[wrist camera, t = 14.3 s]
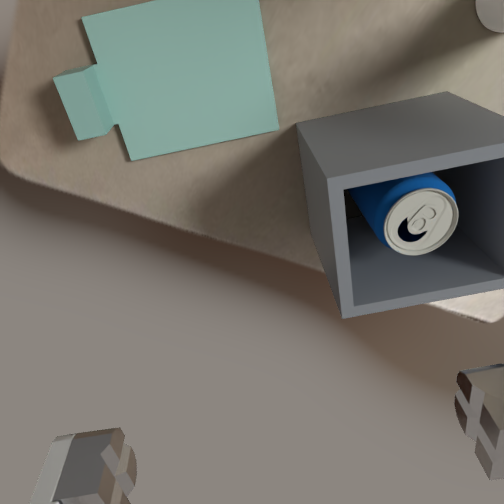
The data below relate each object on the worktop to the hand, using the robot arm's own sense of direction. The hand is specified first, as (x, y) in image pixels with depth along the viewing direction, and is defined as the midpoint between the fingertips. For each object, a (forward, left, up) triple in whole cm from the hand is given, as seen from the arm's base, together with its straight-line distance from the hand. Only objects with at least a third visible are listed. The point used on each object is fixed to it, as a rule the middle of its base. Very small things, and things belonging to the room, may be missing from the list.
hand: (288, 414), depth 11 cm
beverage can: (+9, +12, -34) cm, 37 cm away
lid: (-3, -5, -34) cm, 34 cm away
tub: (+9, +12, -34) cm, 37 cm away
